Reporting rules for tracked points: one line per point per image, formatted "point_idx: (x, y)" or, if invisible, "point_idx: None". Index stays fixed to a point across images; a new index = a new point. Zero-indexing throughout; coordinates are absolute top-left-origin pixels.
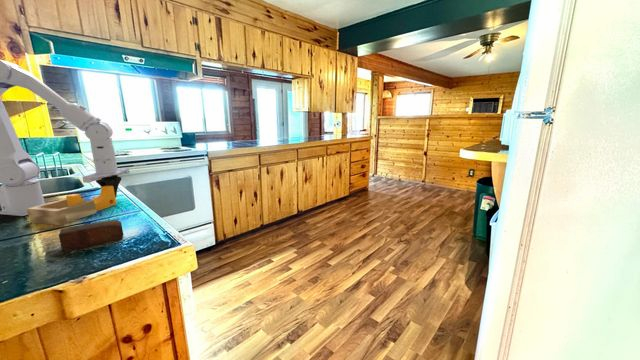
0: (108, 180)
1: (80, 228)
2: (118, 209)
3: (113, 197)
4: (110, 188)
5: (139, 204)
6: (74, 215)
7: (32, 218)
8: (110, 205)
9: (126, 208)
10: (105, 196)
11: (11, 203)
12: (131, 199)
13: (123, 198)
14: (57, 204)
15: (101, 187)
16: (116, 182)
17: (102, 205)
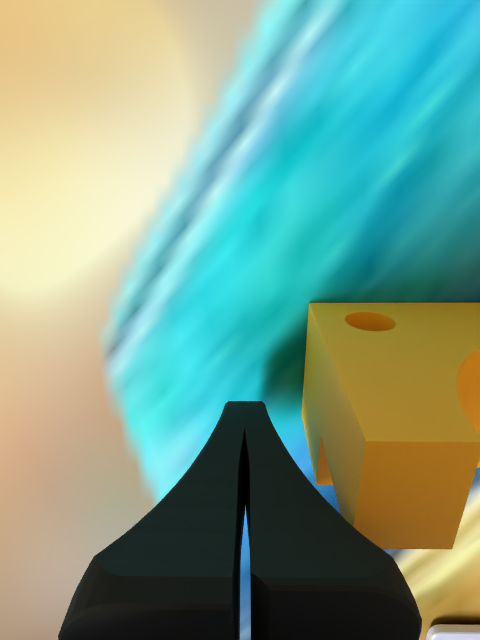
0: (389, 613)
1: None
2: (471, 120)
3: (350, 337)
4: (415, 418)
5: (267, 15)
6: None
7: None
8: (377, 306)
9: (434, 47)
10: (464, 363)
11: None
12: (134, 301)
13: (135, 401)
14: None
15: (452, 532)
16: (210, 529)
17: (474, 316)
